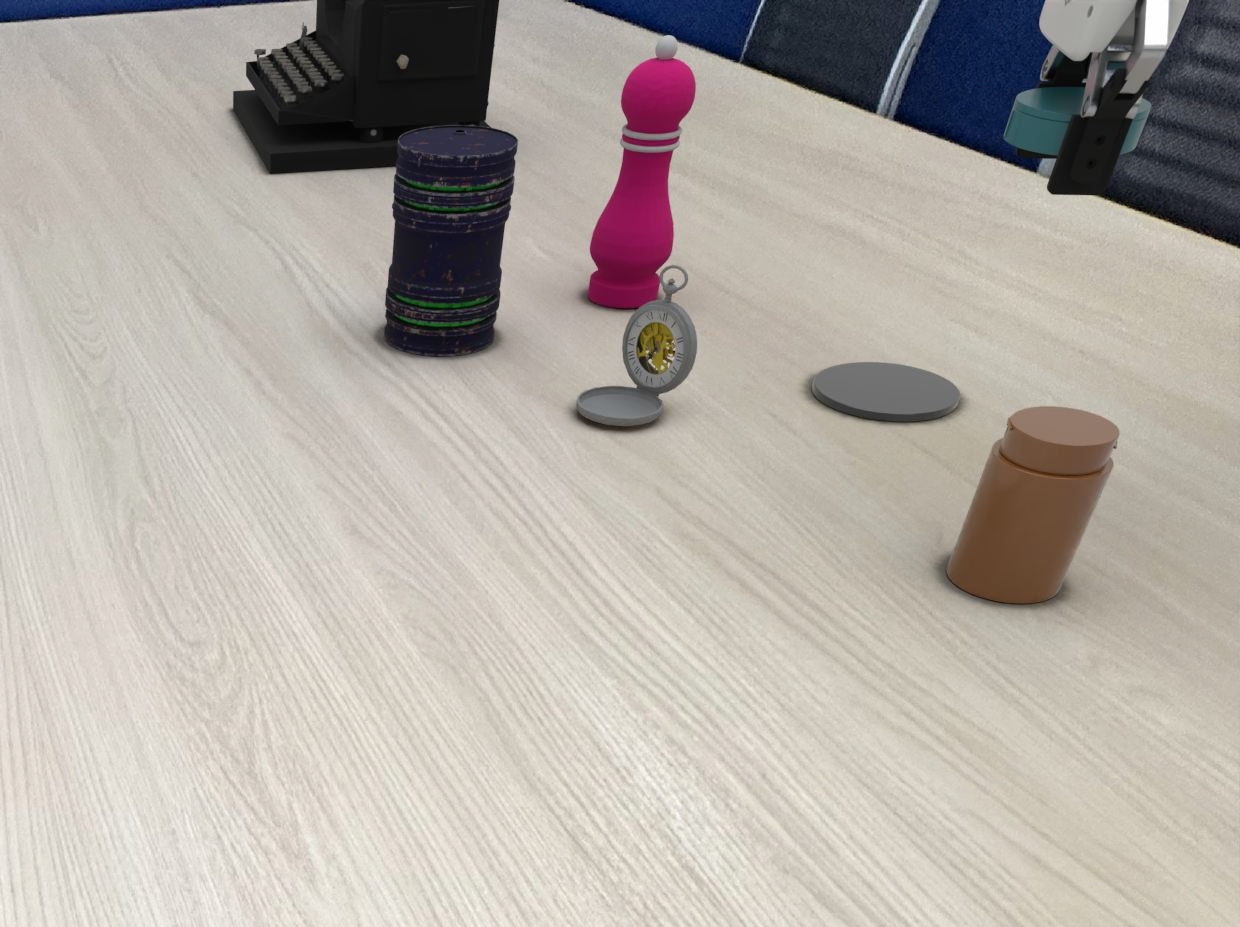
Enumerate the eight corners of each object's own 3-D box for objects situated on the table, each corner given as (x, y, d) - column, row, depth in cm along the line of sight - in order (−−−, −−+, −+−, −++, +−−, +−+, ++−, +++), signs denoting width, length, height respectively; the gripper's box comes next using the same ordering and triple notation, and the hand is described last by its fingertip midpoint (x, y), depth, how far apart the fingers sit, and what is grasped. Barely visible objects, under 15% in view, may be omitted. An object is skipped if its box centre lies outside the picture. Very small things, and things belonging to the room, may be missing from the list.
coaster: (944, 372, 118) (947, 364, 118) (969, 425, 110) (972, 417, 110) (804, 366, 120) (806, 358, 119) (819, 418, 112) (822, 410, 112)
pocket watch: (568, 425, 112) (591, 286, 105) (585, 386, 118) (608, 251, 111) (676, 437, 110) (707, 296, 103) (688, 397, 116) (718, 260, 109)
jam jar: (1046, 558, 95) (1111, 406, 88) (1070, 607, 90) (1141, 451, 84) (937, 551, 96) (993, 400, 89) (956, 600, 92) (1016, 445, 85)
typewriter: (233, 109, 186) (233, -141, 169) (438, 97, 188) (459, -152, 170) (270, 173, 165) (274, -106, 147) (501, 159, 166) (534, -119, 148)
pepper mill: (630, 316, 129) (680, 48, 115) (565, 298, 133) (605, 36, 119) (678, 297, 132) (732, 34, 118) (613, 279, 136) (658, 22, 122)
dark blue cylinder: (492, 359, 123) (517, 158, 112) (377, 354, 124) (390, 155, 113) (497, 319, 129) (521, 125, 119) (388, 314, 131) (402, 123, 120)
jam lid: (1015, 156, 86) (1029, 114, 84) (990, 125, 91) (1003, 85, 89) (1150, 158, 84) (1167, 116, 83) (1117, 127, 90) (1132, 87, 88)
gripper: (1074, -218, 83) (963, 137, 95) (1167, -187, 71) (1025, 215, 83) (1215, -221, 82) (1084, 139, 94) (1333, -190, 70) (1165, 218, 82)
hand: (1057, 172), depth 89 cm, fingers closed on jam lid, 7 cm apart
